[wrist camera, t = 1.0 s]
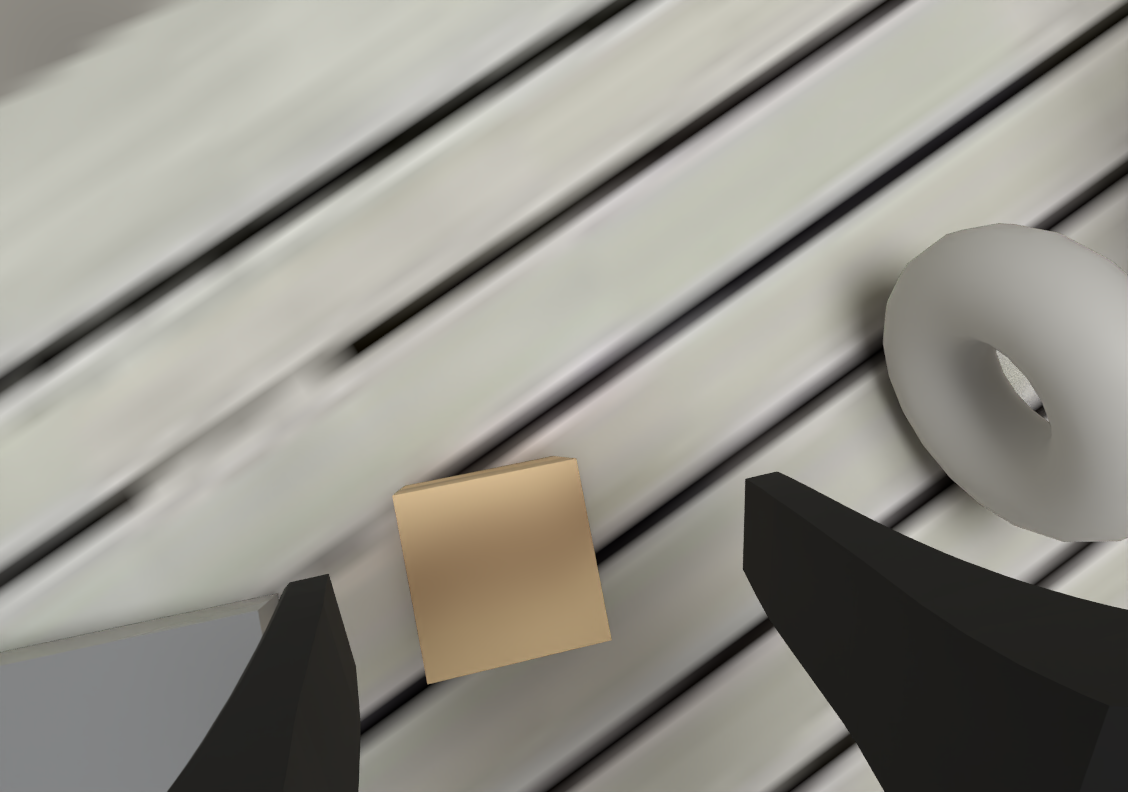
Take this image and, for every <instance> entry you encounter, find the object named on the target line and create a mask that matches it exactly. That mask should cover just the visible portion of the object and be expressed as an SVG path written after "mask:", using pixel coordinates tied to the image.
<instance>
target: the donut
mask: <svg viewBox="0 0 1128 792" xmlns="http://www.w3.org/2000/svg"><path fill="white" fill-rule="evenodd" d="M883 347H884V352H885V358H886V363H887V369H888V374H889V378H890V380H891V383H892V385H893V388H894V390H895V393H896V396H897V398H898V401H899V403H900V406H901V408H902V411H903V412H904V414H905V416H906V417H907V419H908V421H909V422H910V424H911V426H912V427H913V429H914V431H915V432H916V434H917V436H918V437H919V439H920V441H921V443H922V444H923V446H924V447H925V448H926V449H927V451H928V452H929V453H930V454H931V455H932V457H933V458H934V459H935V460H936V461H937V463H938V464H939V465H940V466H941V468H942V469H943V470H944V471H945V472H946V474H947V475H948V476H949V477H950V478H951V479H952V480H953V481H954V482H955V483H957V484H958V485H959V486H960V487H961V488H962V489H963V490H964V491H966V492H967V493H968V494H969V495H970V496H971V497H972V498H973V499H975V500H976V501H977V502H978V503H979V504H980V505H982V506H983V507H985V508H987V509H988V510H990V511H992V512H993V513H995V514H997V515H998V516H1000V517H1001V518H1003V519H1005V520H1006V521H1008V522H1010V523H1011V524H1013V525H1015V526H1018V527H1021V528H1024V529H1026V530H1030V531H1033V532H1036V533H1039V534H1042V535H1045V536H1048V537H1051V538H1054V539H1057V540H1060V541H1063V542H1090V541H1121V540H1123V539H1126V538H1128V275H1127V274H1126V273H1125V272H1124V271H1123V270H1122V269H1121V268H1120V267H1119V266H1117V265H1116V264H1115V263H1114V262H1112V261H1111V260H1110V259H1108V258H1106V257H1104V256H1102V255H1100V254H1098V253H1097V252H1095V251H1093V250H1091V249H1089V248H1087V247H1085V246H1083V245H1081V244H1080V243H1078V242H1076V241H1074V240H1072V239H1070V238H1068V237H1066V236H1064V235H1063V234H1061V233H1056V232H1051V231H1046V230H1041V229H1036V228H1031V227H1026V226H1021V225H1016V224H1003V223H998V224H992V225H987V226H981V227H975V228H970V229H964V230H960V231H956V232H953V233H950V234H947V235H945V236H944V237H942V238H941V239H939V240H938V241H937V242H935V243H934V244H933V245H931V246H930V247H929V248H927V249H926V250H925V251H923V252H922V253H921V254H919V255H918V256H917V257H915V258H914V259H913V260H911V261H910V262H909V263H907V265H906V267H905V268H904V270H903V271H902V273H901V274H900V276H899V278H898V280H897V282H896V284H895V286H894V288H893V291H892V293H891V295H890V297H889V299H888V301H887V305H886V312H885V323H884V335H883ZM996 350H998V351H999V352H1001V353H1002V354H1004V355H1005V356H1006V357H1008V358H1009V359H1010V361H1011V362H1012V363H1013V364H1014V365H1015V366H1016V367H1017V368H1018V369H1019V370H1020V371H1021V372H1022V373H1023V374H1024V375H1025V376H1026V377H1027V379H1028V381H1029V382H1030V384H1031V385H1032V387H1033V388H1034V390H1035V392H1036V393H1037V395H1038V396H1039V398H1040V400H1041V401H1042V403H1043V406H1044V409H1045V411H1046V414H1047V417H1048V420H1049V422H1048V421H1047V420H1046V419H1044V418H1043V417H1041V416H1040V415H1039V414H1037V413H1036V412H1035V411H1033V410H1032V409H1031V408H1030V407H1029V406H1028V405H1027V404H1026V403H1025V401H1024V400H1023V399H1022V398H1021V397H1020V396H1019V395H1018V394H1017V393H1016V392H1015V390H1014V389H1013V387H1012V385H1011V384H1010V382H1009V381H1008V379H1007V377H1006V376H1005V374H1004V373H1003V370H1002V367H1001V365H1000V362H999V359H998V356H997V354H996Z"/></svg>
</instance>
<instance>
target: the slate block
mask: <svg viewBox="0 0 1128 792" xmlns="http://www.w3.org/2000/svg"><path fill="white" fill-rule="evenodd" d="M278 602H279V599H278V594H272V595H267V596H263V597H258V598H253V599H249V600H244V601H239V602H234V603H230V604H225V605H220V606H216V607H211V608H206V609H201V610H197V611H192V612H187V613H182V614H178V615H173V616H168V617H164V618H159V619H154V620H149V621H145V622H140V623H135V624H131V625H126V626H121V627H116V628H112V629H107V630H102V631H98V632H93V633H88V634H83V635H79V636H74V637H69V638H65V639H60V640H55V641H50V642H46V643H41V644H36V645H32V646H27V647H22V648H17V649H13V650H8V651H3V652H0V792H167V791H168V789H169V788H170V787H171V785H172V784H173V783H174V781H175V780H176V778H177V777H178V776H179V774H180V773H181V771H182V770H183V769H184V767H185V766H186V764H187V763H188V761H189V760H190V759H191V757H192V756H193V754H194V753H195V751H196V750H197V748H198V747H199V745H200V744H201V742H202V741H203V739H204V737H205V736H206V734H207V733H208V731H209V729H210V728H211V726H212V724H213V723H214V721H215V720H216V718H217V716H218V715H219V713H220V711H221V710H222V708H223V707H224V705H225V703H226V702H227V700H228V699H229V697H230V695H231V693H232V692H233V690H234V688H235V686H236V685H237V683H238V681H239V679H240V677H241V675H242V674H243V672H244V670H245V668H246V666H247V664H248V663H249V661H250V659H251V657H252V655H253V653H254V651H255V650H256V648H257V646H258V644H259V642H260V640H261V638H262V636H263V634H264V632H265V630H266V628H267V626H268V624H269V621H270V619H271V617H272V615H273V613H274V611H275V609H276V606H277V604H278Z"/></svg>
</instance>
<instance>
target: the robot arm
mask: <svg viewBox="0 0 1128 792" xmlns="http://www.w3.org/2000/svg"><path fill="white" fill-rule="evenodd" d="M743 571H744V572H745V574H746V576H747V578H748V580H749V582H750V584H751V586H752V588H753V590H754V592H755V594H756V596H757V598H758V600H759V602H760V603H761V605H762V607H763V609H764V611H765V612H766V614H767V616H768V618H769V619H770V621H771V622H772V624H773V625H774V627H775V628H776V630H777V631H778V632H779V634H780V635H781V637H782V638H783V639H784V641H785V642H786V644H787V645H788V647H789V648H790V649H791V651H792V652H793V654H794V655H795V656H796V658H797V659H798V661H799V662H800V663H801V665H802V666H803V667H804V669H805V670H806V672H807V673H808V674H809V676H810V677H811V679H812V680H813V681H814V683H815V684H816V686H817V687H818V688H819V690H820V691H821V693H822V694H823V695H824V697H825V698H826V699H827V701H828V702H829V704H830V705H831V706H832V708H833V709H834V711H835V712H836V713H837V715H838V716H839V718H840V719H841V720H842V722H843V723H844V725H845V726H846V728H847V729H848V731H849V732H850V734H851V736H852V737H853V739H854V740H855V742H856V743H857V745H858V746H859V748H860V750H861V752H862V753H863V755H864V757H865V759H866V760H867V762H868V764H869V766H870V767H871V769H872V771H873V772H874V774H875V776H876V778H877V779H878V781H879V783H880V785H881V786H882V788H883V790H884V792H1128V610H1126V609H1121V608H1117V607H1112V606H1108V605H1104V604H1100V603H1096V602H1092V601H1088V600H1084V599H1080V598H1077V597H1073V596H1070V595H1066V594H1063V593H1059V592H1056V591H1052V590H1049V589H1045V588H1042V587H1039V586H1035V585H1032V584H1029V583H1026V582H1022V581H1019V580H1016V579H1013V578H1010V577H1007V576H1004V575H1001V574H999V573H996V572H993V571H990V570H988V569H985V568H982V567H980V566H977V565H974V564H971V563H969V562H966V561H963V560H961V559H958V558H956V557H953V556H951V555H948V554H946V553H943V552H941V551H939V550H936V549H934V548H932V547H930V546H927V545H925V544H923V543H921V542H918V541H916V540H914V539H912V538H909V537H907V536H905V535H903V534H901V533H899V532H896V531H894V530H892V529H890V528H888V527H886V526H884V525H882V524H880V523H878V522H876V521H874V520H872V519H870V518H868V517H866V516H864V515H862V514H860V513H858V512H856V511H854V510H852V509H850V508H848V507H846V506H844V505H842V504H840V503H839V502H837V501H835V500H833V499H831V498H829V497H827V496H825V495H823V494H821V493H819V492H818V491H816V490H814V489H812V488H810V487H808V486H806V485H804V484H802V483H800V482H798V481H796V480H794V479H792V478H790V477H788V476H786V475H784V474H782V473H779V472H773V473H769V474H764V475H760V476H756V477H751V478H747V479H745V514H744V549H743ZM360 729H361V724H360V711H359V697H358V686H357V674H356V665H355V662H354V659H353V655H352V652H351V648H350V645H349V642H348V638H347V635H346V631H345V628H344V624H343V621H342V618H341V614H340V611H339V607H338V604H337V601H336V597H335V594H334V590H333V587H332V584H331V580H330V577H329V574H325V575H321V576H317V577H312V578H308V579H303V580H299V581H295V582H290V583H289V584H288V585H287V587H286V588H285V589H284V591H283V593H282V595H281V598H280V600H279V602H278V604H277V606H276V609H275V611H274V613H273V615H272V617H271V619H270V621H269V624H268V626H267V628H266V630H265V632H264V634H263V636H262V638H261V640H260V642H259V644H258V646H257V648H256V650H255V651H254V653H253V655H252V657H251V659H250V661H249V663H248V664H247V666H246V668H245V670H244V672H243V674H242V675H241V677H240V679H239V681H238V683H237V685H236V686H235V688H234V690H233V692H232V693H231V695H230V697H229V699H228V700H227V702H226V703H225V705H224V707H223V708H222V710H221V711H220V713H219V715H218V716H217V718H216V720H215V721H214V723H213V724H212V726H211V728H210V729H209V731H208V733H207V734H206V736H205V737H204V739H203V741H202V742H201V744H200V745H199V747H198V748H197V750H196V751H195V753H194V754H193V756H192V757H191V759H190V760H189V761H188V763H187V764H186V766H185V767H184V769H183V770H182V771H181V773H180V774H179V776H178V777H177V778H176V780H175V781H174V783H173V784H172V785H171V787H170V788H169V789H168V791H167V792H358V786H359V759H360Z"/></svg>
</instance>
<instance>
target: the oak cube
mask: <svg viewBox="0 0 1128 792" xmlns="http://www.w3.org/2000/svg"><path fill="white" fill-rule="evenodd" d="M392 497H393V502H394V508H395V513H396V518H397V524H398V529H399V534H400V540H401V545H402V550H403V556H404V561H405V566H406V572H407V577H408V583H409V588H410V593H411V599H412V604H413V609H414V615H415V620H416V625H417V631H418V636H419V641H420V647H421V652H422V658H423V663H424V668H425V674H426V679H427V684H431V683H435V682H439V681H444V680H448V679H452V678H456V677H460V676H464V675H469V674H473V673H477V672H481V671H485V670H489V669H494V668H498V667H502V666H506V665H510V664H514V663H519V662H523V661H527V660H531V659H535V658H539V657H544V656H548V655H552V654H556V653H560V652H565V651H569V650H573V649H577V648H581V647H585V646H590V645H594V644H598V643H602V642H606V641H610V640H612V639H611V634H610V629H609V624H608V619H607V614H606V609H605V603H604V598H603V593H602V588H601V583H600V578H599V573H598V568H597V562H596V557H595V552H594V547H593V542H592V537H591V532H590V527H589V521H588V516H587V511H586V506H585V501H584V496H583V491H582V486H581V481H580V475H579V470H578V465H577V460H576V458H567V457H558V456H551V457H546V458H541V459H536V460H531V461H526V462H521V463H516V464H512V465H507V466H502V467H497V468H492V469H487V470H482V471H477V472H472V473H467V474H462V475H457V476H452V477H447V478H442V479H437V480H432V481H427V482H422V483H417V484H412V485H407V486H404V487H403V488H401V489H400V490H399V491H398V492H396V493H395V494H394V495H393V496H392Z"/></svg>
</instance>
